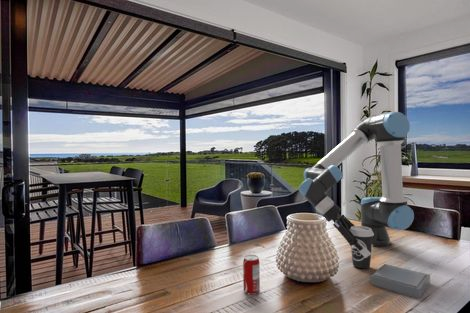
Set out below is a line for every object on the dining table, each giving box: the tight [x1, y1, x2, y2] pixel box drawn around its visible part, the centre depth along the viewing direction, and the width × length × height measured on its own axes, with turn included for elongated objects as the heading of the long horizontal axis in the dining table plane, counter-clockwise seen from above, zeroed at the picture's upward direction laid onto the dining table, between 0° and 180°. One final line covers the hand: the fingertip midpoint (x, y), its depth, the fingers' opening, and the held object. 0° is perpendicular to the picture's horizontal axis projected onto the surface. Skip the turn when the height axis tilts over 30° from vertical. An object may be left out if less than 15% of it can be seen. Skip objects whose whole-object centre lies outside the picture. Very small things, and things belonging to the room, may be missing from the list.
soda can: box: [242, 254, 261, 295], centre depth 100 cm, size 6×6×12 cm
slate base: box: [370, 263, 431, 300], centre depth 104 cm, size 15×15×3 cm
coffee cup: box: [350, 225, 374, 269], centre depth 119 cm, size 10×10×15 cm
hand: (369, 251), depth 118 cm, fingers closed on coffee cup, 9 cm apart
